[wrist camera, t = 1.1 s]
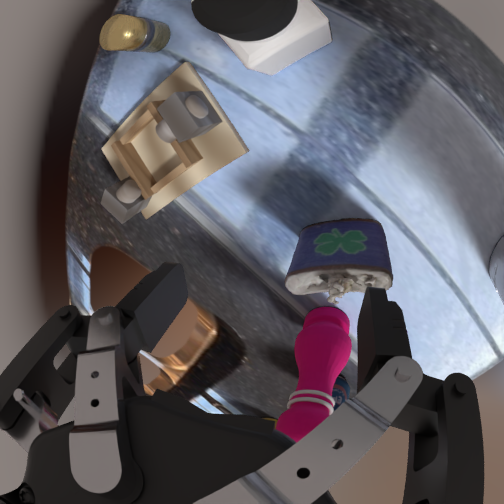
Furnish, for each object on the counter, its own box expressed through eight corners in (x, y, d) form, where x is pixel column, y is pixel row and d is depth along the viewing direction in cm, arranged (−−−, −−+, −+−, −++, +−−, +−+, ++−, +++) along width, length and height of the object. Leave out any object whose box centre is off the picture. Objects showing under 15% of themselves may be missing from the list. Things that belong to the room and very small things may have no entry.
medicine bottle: (334, 41, 18) (326, -4, 8) (271, 77, 22) (217, 63, 12) (288, -9, 16) (247, -68, 6) (230, 27, 19) (158, -4, 10)
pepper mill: (296, 304, 35) (248, 448, 19) (350, 300, 32) (329, 458, 16) (306, 340, 38) (269, 467, 22) (354, 338, 35) (334, 474, 19)
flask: (302, 245, 30) (281, 310, 22) (298, 221, 29) (274, 282, 20) (384, 240, 27) (396, 309, 18) (383, 215, 25) (399, 277, 17)
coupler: (160, 16, 20) (118, 6, 14) (176, 36, 21) (134, 28, 15) (137, 38, 22) (94, 35, 16) (151, 59, 23) (108, 58, 18)
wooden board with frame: (191, 61, 22) (157, 57, 18) (251, 149, 26) (228, 163, 21) (106, 147, 31) (74, 160, 26) (150, 216, 35) (122, 237, 30)
